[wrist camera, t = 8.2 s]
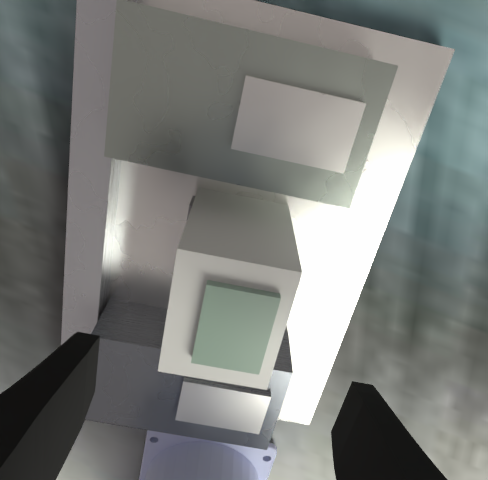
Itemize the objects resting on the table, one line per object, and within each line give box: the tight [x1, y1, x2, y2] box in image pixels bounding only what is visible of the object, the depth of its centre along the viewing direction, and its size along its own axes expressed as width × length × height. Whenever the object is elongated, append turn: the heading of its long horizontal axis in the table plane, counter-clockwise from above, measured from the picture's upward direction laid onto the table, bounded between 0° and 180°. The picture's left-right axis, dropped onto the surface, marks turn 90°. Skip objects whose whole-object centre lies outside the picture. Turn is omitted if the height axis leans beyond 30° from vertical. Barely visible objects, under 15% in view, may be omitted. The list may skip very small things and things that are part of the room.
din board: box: [61, 0, 455, 450], centre depth 19 cm, size 20×14×4 cm
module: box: [158, 187, 302, 390], centre depth 17 cm, size 5×4×6 cm
